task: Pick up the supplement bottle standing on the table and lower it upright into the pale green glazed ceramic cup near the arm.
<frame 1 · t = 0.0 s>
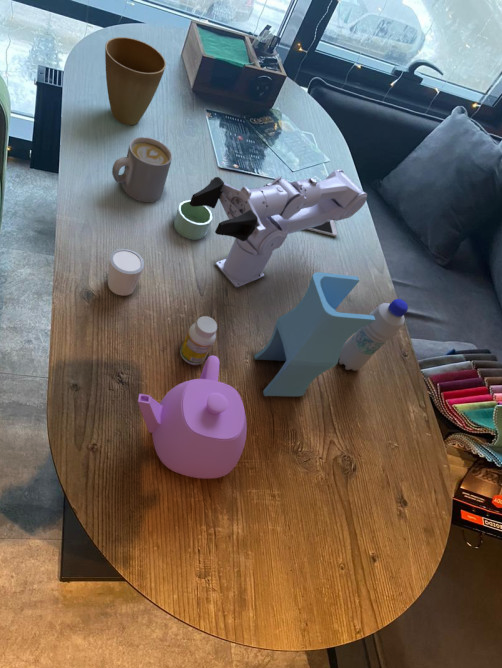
hand: (205, 214, 90), 22 cm above the table, tool horizontal, fingers open, 7 cm apart
supplement bottle: (192, 355, 101), on the table
bottle: (346, 362, 114), on the table
cup: (190, 227, 121), on the table
smartphone: (309, 222, 137), on the table
teapot: (180, 434, 91), on the table
blue tall flared piece: (279, 376, 105), on the table
plant pot: (124, 118, 136), on the table
coffee mug: (135, 188, 122), on the table
white round canister: (121, 285, 105), on the table
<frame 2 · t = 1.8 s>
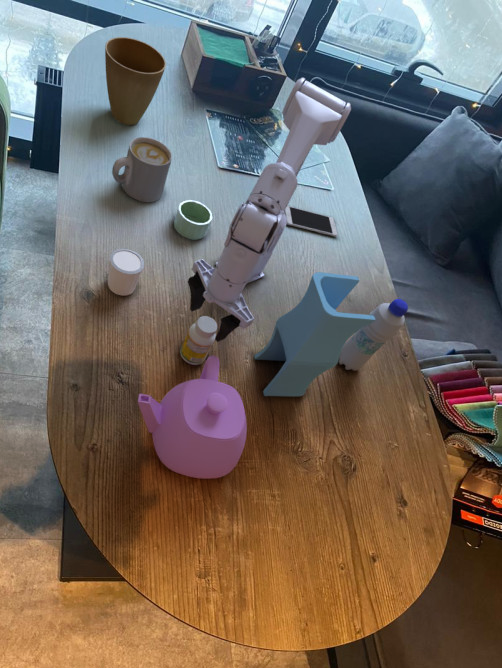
hand: (207, 323, 93), 10 cm above the table, tool pointing down, fingers open, 7 cm apart
nothing on the table moved.
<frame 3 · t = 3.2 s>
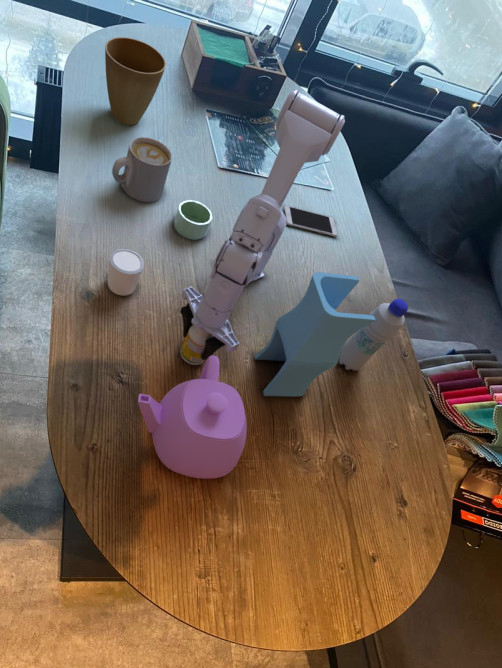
hand: (196, 345, 99), 3 cm above the table, tool pointing down, fingers closed on supplement bottle, 5 cm apart
supplement bottle: (192, 355, 101), on the table, touching gripper
everything else where it was.
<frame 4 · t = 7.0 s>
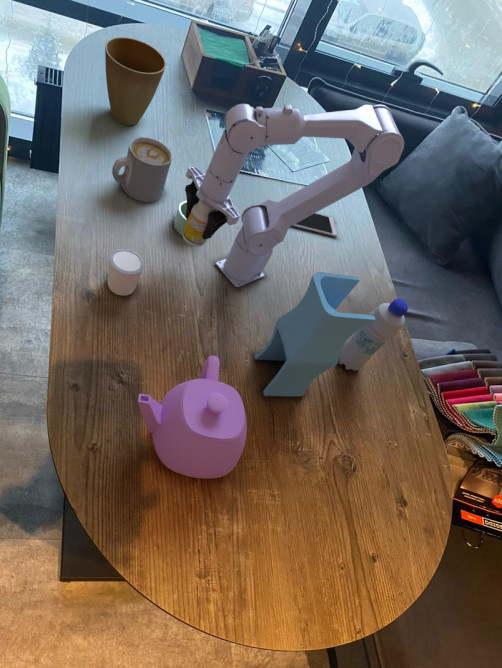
hand: (197, 227, 106), 10 cm above the table, tool pointing down, fingers closed on supplement bottle, 5 cm apart
supplement bottle: (192, 238, 108), point 7 cm above the table, touching gripper
everything else where it was.
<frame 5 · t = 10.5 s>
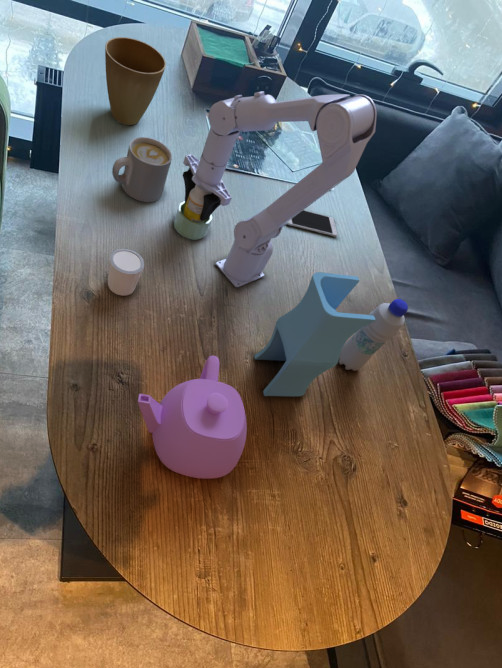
hand: (196, 210, 117), 5 cm above the table, tool pointing down, fingers closed on supplement bottle, 5 cm apart
supplement bottle: (192, 221, 119), point 2 cm above the table, touching gripper
everything else where it was.
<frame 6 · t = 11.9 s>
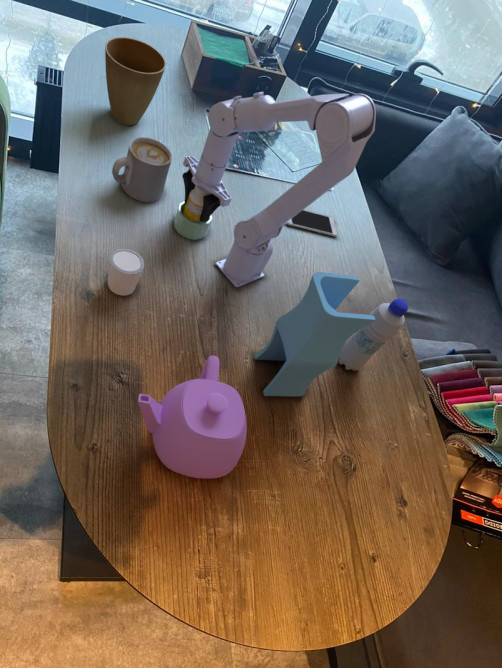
hand: (196, 211, 117), 5 cm above the table, tool pointing down, fingers closed on supplement bottle, 5 cm apart
supplement bottle: (192, 222, 119), point 2 cm above the table, touching gripper
everything else where it was.
when the fingers open (6 cm above the table, at t = 17.9 s): supplement bottle drops 2 cm, resting on cup.
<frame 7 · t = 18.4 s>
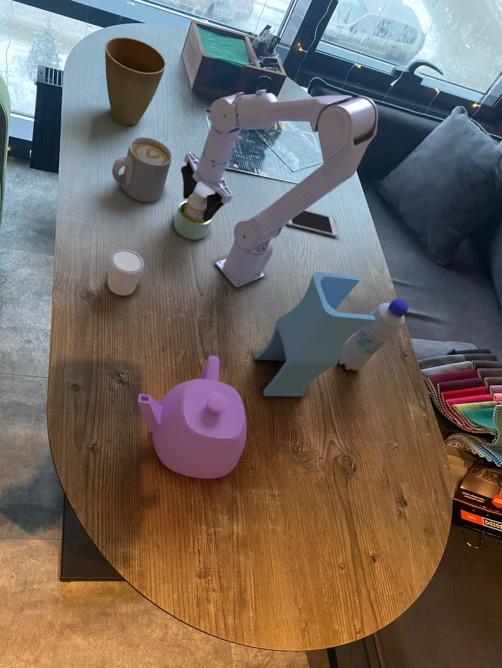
hand: (197, 208, 116), 6 cm above the table, tool pointing down, fingers open, 7 cm apart
supplement bottle: (190, 226, 120), resting on cup
everything else where it was.
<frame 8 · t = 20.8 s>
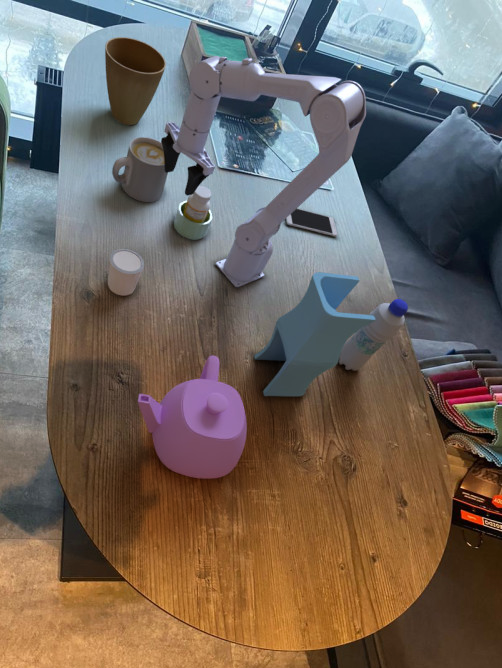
hand: (178, 182, 111), 10 cm above the table, tool pointing down, fingers open, 7 cm apart
nothing on the table moved.
at the end: supplement bottle 0.0 cm off-centre in the cup, point 0.4 cm above the cup's base; supplement bottle tilted 0°; the gripper is holding nothing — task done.
